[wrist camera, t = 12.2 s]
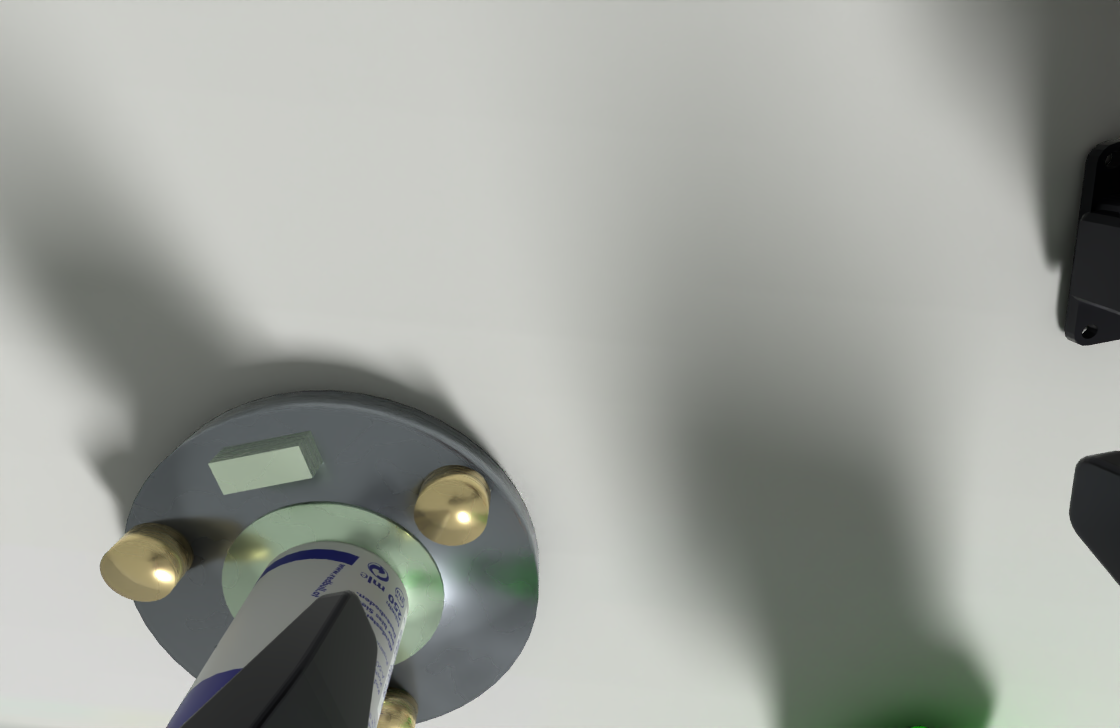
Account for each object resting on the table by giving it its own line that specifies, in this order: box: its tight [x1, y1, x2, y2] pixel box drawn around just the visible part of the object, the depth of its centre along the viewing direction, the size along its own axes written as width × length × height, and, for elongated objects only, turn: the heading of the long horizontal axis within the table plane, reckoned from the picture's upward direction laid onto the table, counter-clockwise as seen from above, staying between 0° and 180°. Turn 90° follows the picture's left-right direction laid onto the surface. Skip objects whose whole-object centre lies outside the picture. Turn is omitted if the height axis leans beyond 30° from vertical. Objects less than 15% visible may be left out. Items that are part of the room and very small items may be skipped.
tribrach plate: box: [100, 391, 539, 728], centre depth 22 cm, size 15×15×3 cm
